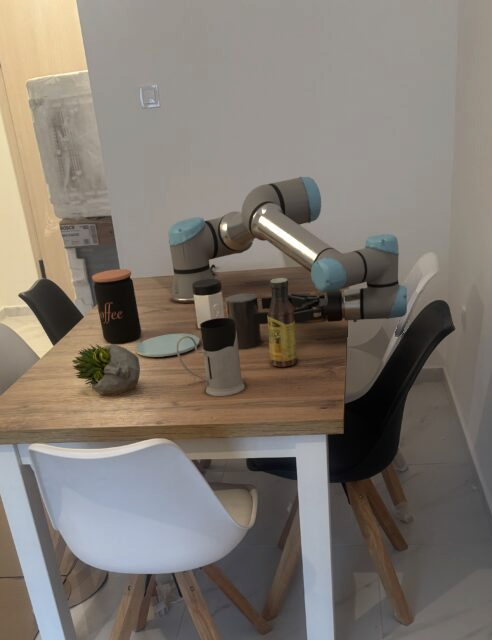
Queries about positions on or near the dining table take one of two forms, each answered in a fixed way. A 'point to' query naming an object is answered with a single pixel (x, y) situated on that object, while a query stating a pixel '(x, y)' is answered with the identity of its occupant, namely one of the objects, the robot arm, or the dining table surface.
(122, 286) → the coffee jar
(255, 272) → the dining table surface
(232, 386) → the glass holder
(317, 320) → the sunglasses case
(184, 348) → the saucer
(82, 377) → the potted plant
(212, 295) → the jar
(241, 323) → the dark glossy canister
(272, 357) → the sauce bottle
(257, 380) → the dining table surface
